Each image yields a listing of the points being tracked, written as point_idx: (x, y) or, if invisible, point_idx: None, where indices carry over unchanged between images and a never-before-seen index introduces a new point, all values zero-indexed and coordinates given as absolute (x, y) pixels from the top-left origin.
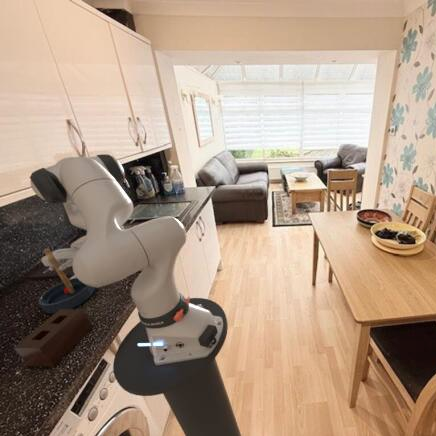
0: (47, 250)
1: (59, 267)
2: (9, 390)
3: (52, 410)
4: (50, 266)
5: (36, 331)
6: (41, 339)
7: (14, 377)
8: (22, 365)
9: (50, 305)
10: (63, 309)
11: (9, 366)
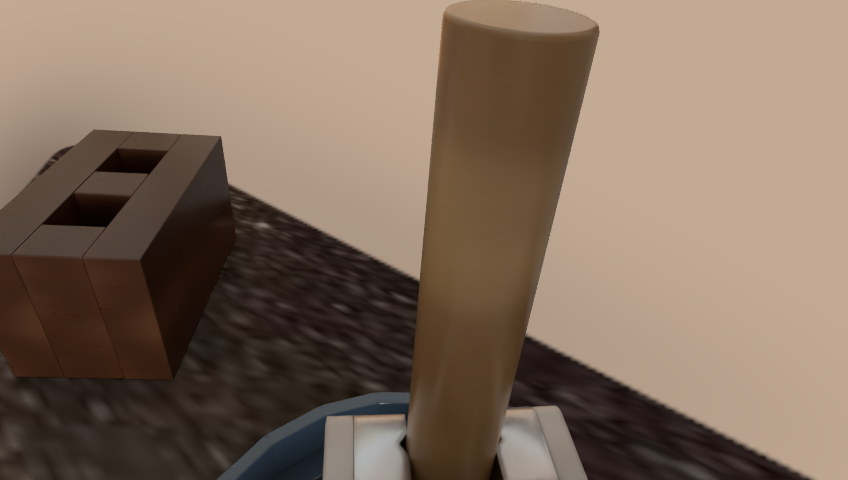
0: (449, 19)
1: (349, 415)
2: (235, 193)
3: (48, 162)
4: (562, 427)
5: (177, 172)
6: (113, 147)
7: (258, 215)
8: (270, 240)
9: (367, 397)
10: (107, 256)
11: (323, 239)
